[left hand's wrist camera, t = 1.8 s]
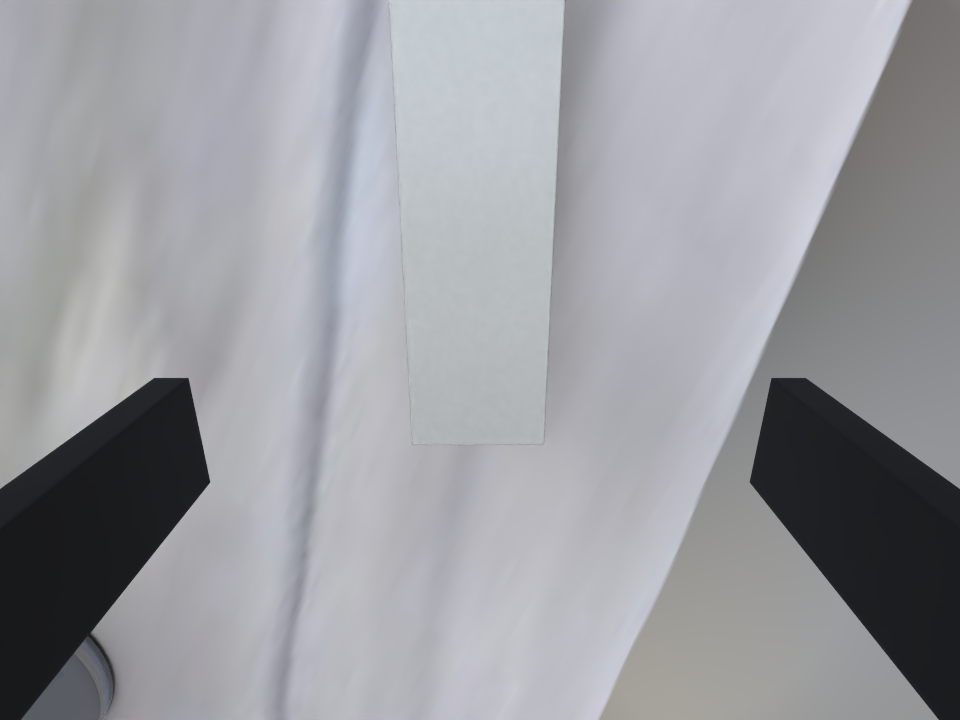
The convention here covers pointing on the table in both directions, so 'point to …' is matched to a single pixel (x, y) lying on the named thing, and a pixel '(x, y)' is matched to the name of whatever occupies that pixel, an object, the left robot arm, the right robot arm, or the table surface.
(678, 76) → the table surface
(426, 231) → the bar
